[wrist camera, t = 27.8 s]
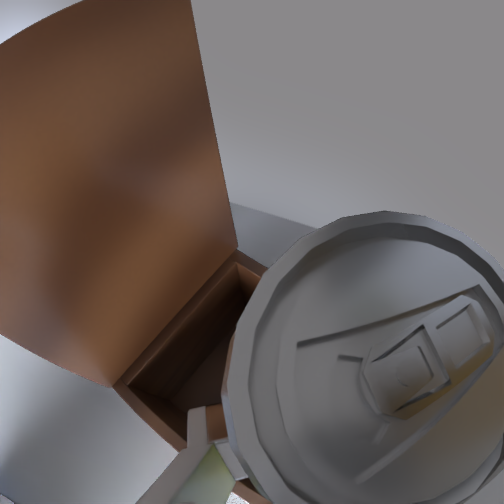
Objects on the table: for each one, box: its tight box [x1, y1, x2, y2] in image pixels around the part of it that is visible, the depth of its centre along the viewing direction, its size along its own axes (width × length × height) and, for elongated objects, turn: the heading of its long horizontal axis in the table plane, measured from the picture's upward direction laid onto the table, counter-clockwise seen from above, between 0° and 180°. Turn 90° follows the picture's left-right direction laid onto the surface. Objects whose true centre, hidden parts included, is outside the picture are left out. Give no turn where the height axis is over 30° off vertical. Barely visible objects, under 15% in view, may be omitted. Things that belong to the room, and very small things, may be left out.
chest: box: [112, 249, 272, 504], centre depth 18 cm, size 15×12×9 cm
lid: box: [0, 0, 238, 388], centre depth 11 cm, size 15×12×5 cm
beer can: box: [221, 211, 504, 504], centre depth 8 cm, size 5×5×12 cm
